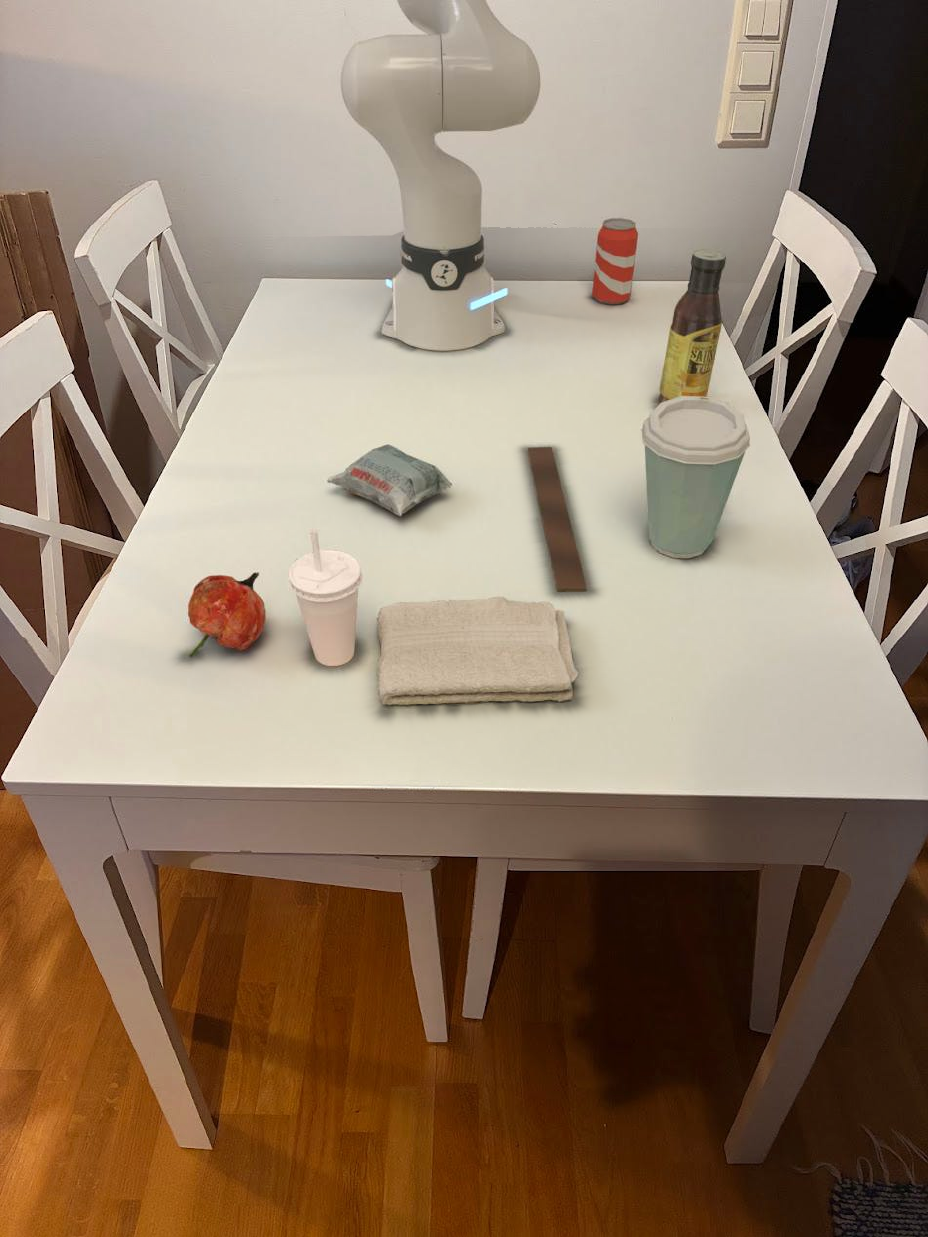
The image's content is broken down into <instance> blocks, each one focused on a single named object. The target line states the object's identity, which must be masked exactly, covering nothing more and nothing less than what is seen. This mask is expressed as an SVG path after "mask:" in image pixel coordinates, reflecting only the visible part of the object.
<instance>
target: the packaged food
mask: <svg viewBox="0 0 928 1237" xmlns="http://www.w3.org/2000/svg"><path fill="white" fill-rule="evenodd" d="M326 482H327V483H329V484H333V485H335V486H339V487H342V488H344V490H345V491H347V492H349V493H351V494H354V495H356V496H359V497H361V498H364V499H366V500H368V501H372V502H374V503H375V504H376V505H378V506H379V507H381V508H384V509H386V510H388V511H389V512H391V513H393V514H394V515H396V516H399V517H402V516H403V514H405V513H407V512H408V511H409V510H411V509H412V508H413V507H415V506H416V505H418V504H419V503H421V502H423V501H424V500H427V499H428V498H431V497H432V496H435V495H437V494H441V492H442V491H445V490H447V489H451V487H452V485H453V483H452V482H451V481H450V480H449V479H448V478H447V477H446V475H445V474H444V473H443V472H442V471H441V470H440V469H439V468H438V467H437V466H436V465H434V464H431V463H429V462H427V461H425V460H422V459H419V458H417V457H415V456H412V455H410V454H407V453H406V452H404V451H402V450H400V449H399V448H397V447H396V446H393V445H392V444H391V445H390V444H384V445H382V446H379V447H376V448H373V449H371V450H370V451H368V452H367V453H365V454H364V455H362V456H360V457H359V458H358V459H357V460H355V461H354V462H353V463H351V464H349V466H347V467H346V468H345V470H344V471H342V472H339V473H337V474H335V475H332V476H330V477H328V478H327V480H326Z"/></svg>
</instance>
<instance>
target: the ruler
mask: <svg viewBox="0 0 928 1237" xmlns="http://www.w3.org/2000/svg"><path fill="white" fill-rule="evenodd" d="M526 452H527V455H528V461H529V466H530V469H531V470H530V471H531V475H532V480H533V485H534V490H535V493H536V494H535V495H536V498H537V503H538V508H539V513H540V518H541V523H542V527H543V533H544V536H545V541H546V546H547V551H548V555H549V560H550V565H551V570H552V574H553V580H554V584H555V589H556V592H587V589H588V588H587V583H586V580H585V575H584V572H583V567H582V563H581V559H580V555H579V551H578V548H577V542H576V539H575V535H574V531H573V527H572V523H571V518H570V515H569V511H568V508H567V503H566V499H565V495H564V492H563V487H562V483H561V480H560V475H559V471H558V467H557V464H556V460H555V456H554V451H553V447H552V446H543V447H542V446H539V447H538V446H537V447H536V446H535V447H534V446H533V447H532V446H531V447H527V449H526Z"/></svg>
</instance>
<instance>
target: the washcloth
mask: <svg viewBox="0 0 928 1237" xmlns="http://www.w3.org/2000/svg"><path fill="white" fill-rule="evenodd" d="M376 623H377V633H378V638H379V643H380V656H379V658H378V659H377V660H378V664H377V674H376V675H377V681H378V684H377V694H378V699H379V701H381V703H382V705H388V706H390V705H393V706H394V705H400V706H403V705H405V706H407V705H408V706H409V705H429V704H431V705H439V704H450V703H451V704H455V703H456V704H457V703H466V704H467V703H472V702H477V703H478V702H479V701H480V702H489V701H491V702H499V701H500V702H514V701H520V702H523V703H525V702H533V703H534V702H543V701H548V700H552V701H558V702H559V703H561V702H563V701H571V700H572V699H573V695H574V692H573V690H574V689H573V683H574V682H575V681H576V679H577V678H578V677H579V675H580V673H579V672H578V671H577V669H576V668H575V664H574V660H573V653H572V647H571V642H570V637H569V632H568V631H569V630H568V627H567V621H566V616H565V611H564V610H561V609H555V607H554V605H553V604H552V603H551V602H547V601H517V600H509V599H506V598H505V596H494V597H489V598H481V599H447V600H446V599H441V600H435V601H434V600H433V601H416V602H415V601H412V602H411V601H410V602H406V601H405V602H404V601H403V602H402V601H401V602H400V601H399V602H395V603H391V604H389V605H386V606H383V607H381V608H379V611H378V613H377V618H376Z"/></svg>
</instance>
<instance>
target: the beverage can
mask: <svg viewBox="0 0 928 1237" xmlns="http://www.w3.org/2000/svg"><path fill="white" fill-rule="evenodd" d="M636 225H637V224H636V222H635V221H633V220H632V219H628V218H623V217H611V218H607V219H603V221H602V226H601V228H600V229H599V230H598V233H597V238H596V248H595V249H596V250H595V261H594V270H593V271H594V272H593V281H592V293H591V296H592V297H593V298H594V299H596V300H597V301H598V302H600V303H601V304H606V305H620V304H623V303H625V301H628V300H630V298H631V295H632V287H633V280H634V272H635V264H636V256H637V246H638V238H639V233H638V230H637V228H636Z"/></svg>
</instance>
